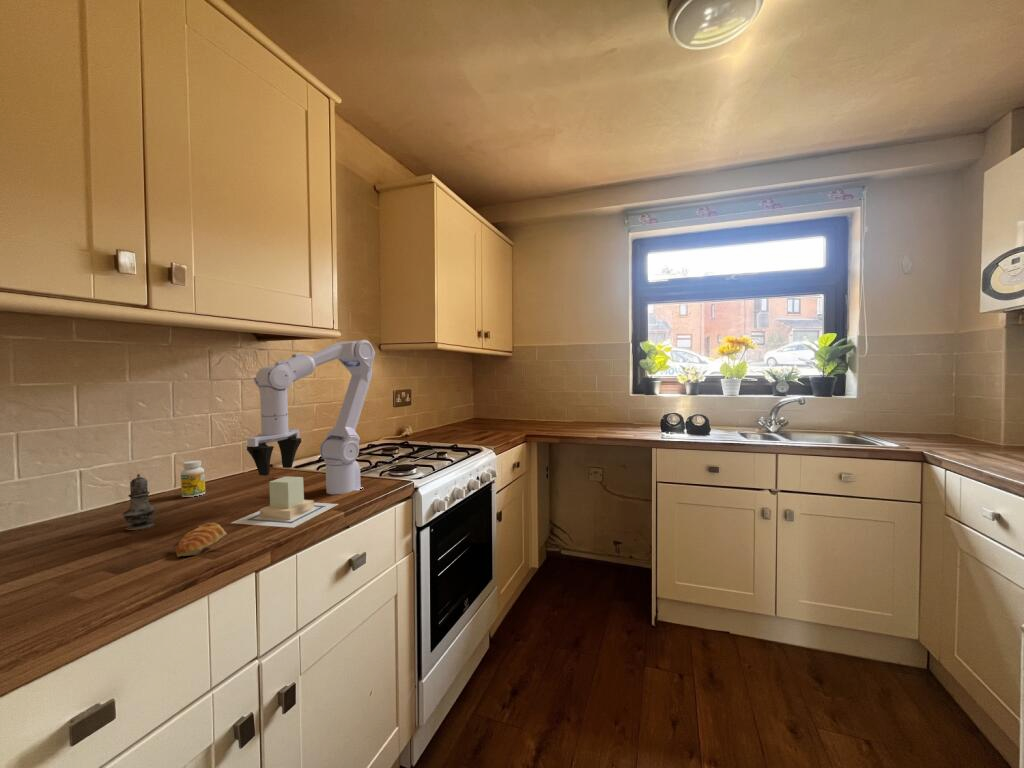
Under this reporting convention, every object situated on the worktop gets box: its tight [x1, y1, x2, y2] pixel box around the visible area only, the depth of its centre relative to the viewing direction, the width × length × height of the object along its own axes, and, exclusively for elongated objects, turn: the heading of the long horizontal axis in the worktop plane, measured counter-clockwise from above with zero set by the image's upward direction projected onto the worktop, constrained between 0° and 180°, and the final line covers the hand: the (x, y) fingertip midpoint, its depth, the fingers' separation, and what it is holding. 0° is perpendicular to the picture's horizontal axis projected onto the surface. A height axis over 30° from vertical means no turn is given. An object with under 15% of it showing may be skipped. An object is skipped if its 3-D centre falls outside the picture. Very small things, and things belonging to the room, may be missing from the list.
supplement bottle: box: [180, 460, 206, 498], centre depth 117 cm, size 5×5×10 cm
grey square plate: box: [230, 502, 339, 529], centre depth 98 cm, size 16×16×1 cm
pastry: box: [175, 522, 228, 558], centre depth 81 cm, size 9×7×4 cm
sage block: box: [268, 475, 305, 509], centre depth 98 cm, size 5×5×6 cm
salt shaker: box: [121, 473, 158, 530], centre depth 93 cm, size 6×6×12 cm
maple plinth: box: [259, 499, 315, 520], centre depth 98 cm, size 8×8×2 cm
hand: (276, 471), depth 100 cm, fingers open, 7 cm apart
